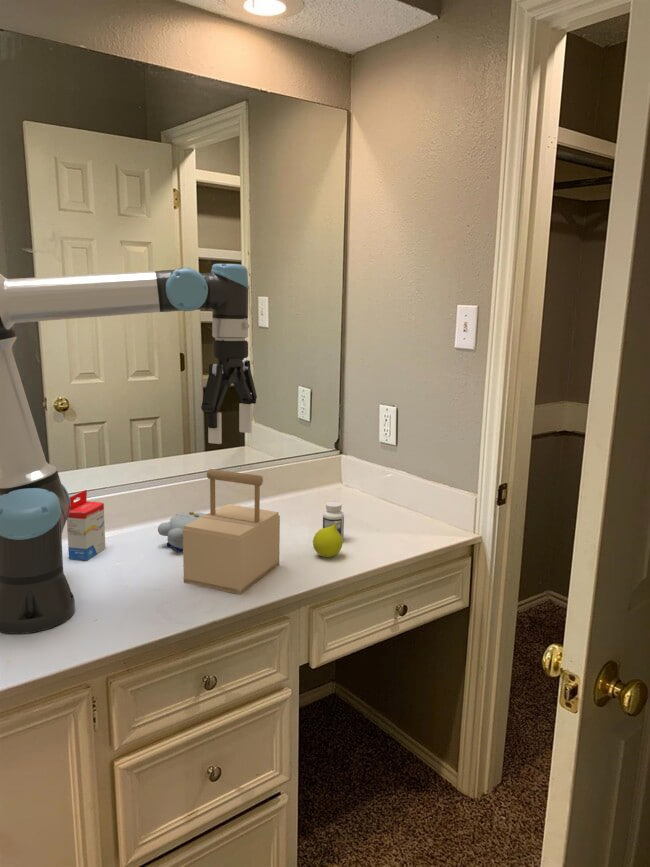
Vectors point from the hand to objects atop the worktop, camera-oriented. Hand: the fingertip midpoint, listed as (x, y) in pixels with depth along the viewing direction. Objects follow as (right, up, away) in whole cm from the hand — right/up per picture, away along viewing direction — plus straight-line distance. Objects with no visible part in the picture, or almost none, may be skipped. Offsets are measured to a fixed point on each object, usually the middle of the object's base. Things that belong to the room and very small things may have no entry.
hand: (230, 437), depth 143 cm
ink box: (-36, -28, +14) cm, 48 cm away
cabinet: (0, -30, +4) cm, 31 cm away
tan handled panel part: (+2, -18, +6) cm, 19 cm away
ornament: (+21, -29, +16) cm, 39 cm away
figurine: (-11, -27, +22) cm, 37 cm away
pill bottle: (+23, -27, +27) cm, 44 cm away
